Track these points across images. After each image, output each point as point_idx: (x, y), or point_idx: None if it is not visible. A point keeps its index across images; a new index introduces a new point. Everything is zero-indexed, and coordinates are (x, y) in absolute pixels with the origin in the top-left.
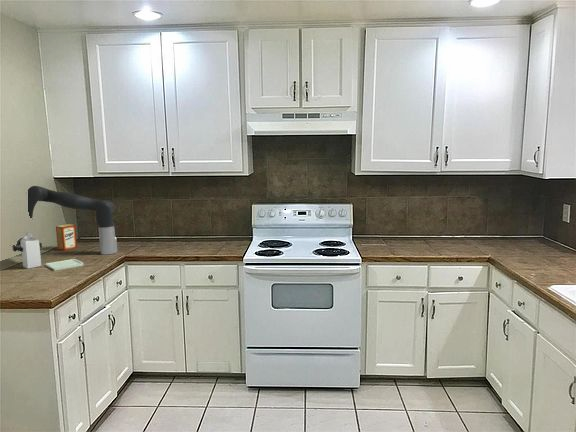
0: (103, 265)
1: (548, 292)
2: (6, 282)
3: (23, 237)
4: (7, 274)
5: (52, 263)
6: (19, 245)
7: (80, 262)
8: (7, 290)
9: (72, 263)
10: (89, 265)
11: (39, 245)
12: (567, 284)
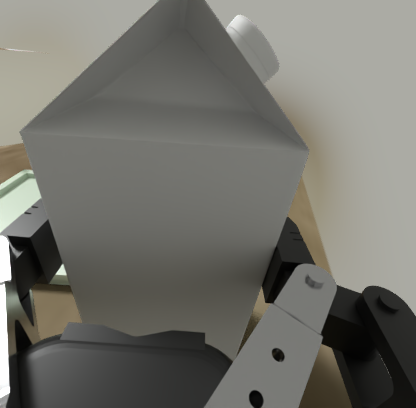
0: (9, 151)
1: (25, 51)
2: (300, 186)
3: (269, 47)
4: (314, 259)
5: (58, 270)
6: (314, 330)
7: (9, 183)
8: None
9: (19, 207)
10: (21, 170)
11: (32, 209)
12: (3, 48)
